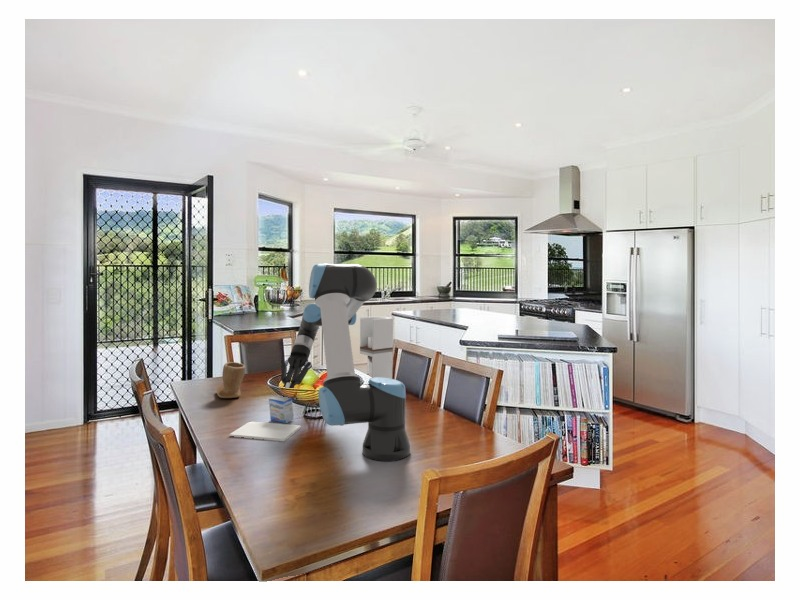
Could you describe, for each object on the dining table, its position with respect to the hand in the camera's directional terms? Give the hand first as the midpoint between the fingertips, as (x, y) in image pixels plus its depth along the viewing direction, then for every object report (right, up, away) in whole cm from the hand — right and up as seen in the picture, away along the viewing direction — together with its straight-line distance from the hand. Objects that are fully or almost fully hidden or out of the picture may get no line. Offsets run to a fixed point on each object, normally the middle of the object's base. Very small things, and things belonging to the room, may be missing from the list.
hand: (284, 398), depth 181 cm
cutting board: (-3, -9, -15) cm, 17 cm away
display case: (+33, -6, +43) cm, 55 cm away
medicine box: (0, -8, -2) cm, 8 cm away
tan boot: (-32, -5, +31) cm, 45 cm away
